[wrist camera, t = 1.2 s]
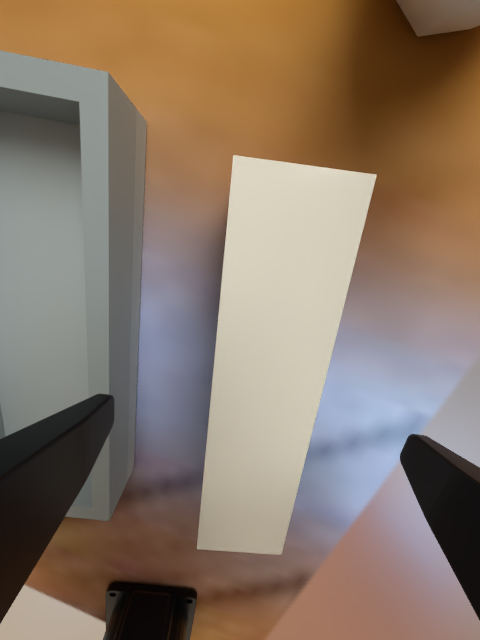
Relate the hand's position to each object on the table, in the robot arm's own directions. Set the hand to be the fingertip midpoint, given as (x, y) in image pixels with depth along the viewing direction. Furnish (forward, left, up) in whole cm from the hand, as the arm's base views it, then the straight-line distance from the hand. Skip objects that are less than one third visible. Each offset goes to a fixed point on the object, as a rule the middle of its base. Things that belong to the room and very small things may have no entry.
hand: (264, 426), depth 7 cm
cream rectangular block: (0, 0, -6) cm, 6 cm away
